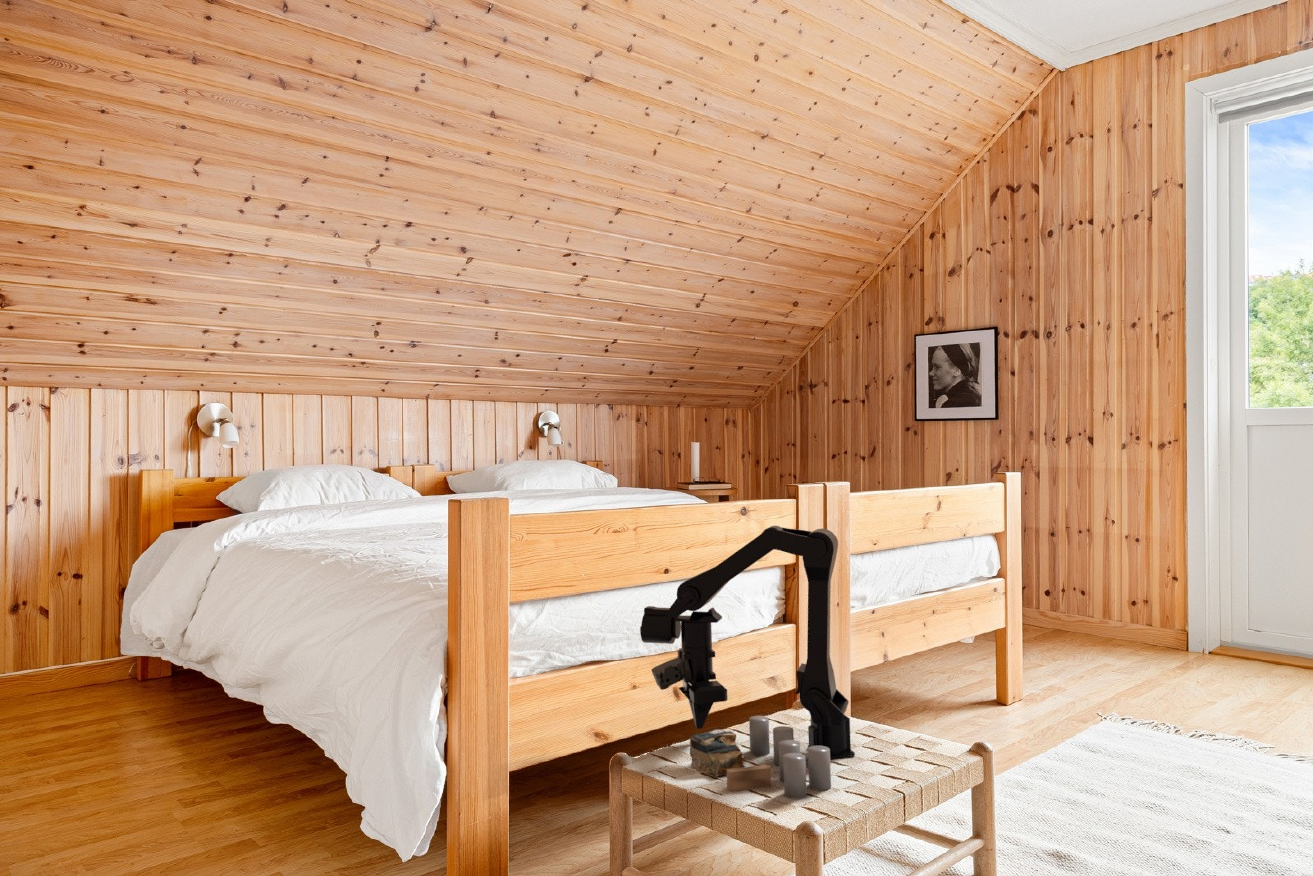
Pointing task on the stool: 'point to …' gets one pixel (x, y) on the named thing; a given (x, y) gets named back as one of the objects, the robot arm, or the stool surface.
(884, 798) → the stool surface
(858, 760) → the stool surface
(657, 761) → the stool surface
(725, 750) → the rock
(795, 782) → the spacers
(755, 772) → the bar
